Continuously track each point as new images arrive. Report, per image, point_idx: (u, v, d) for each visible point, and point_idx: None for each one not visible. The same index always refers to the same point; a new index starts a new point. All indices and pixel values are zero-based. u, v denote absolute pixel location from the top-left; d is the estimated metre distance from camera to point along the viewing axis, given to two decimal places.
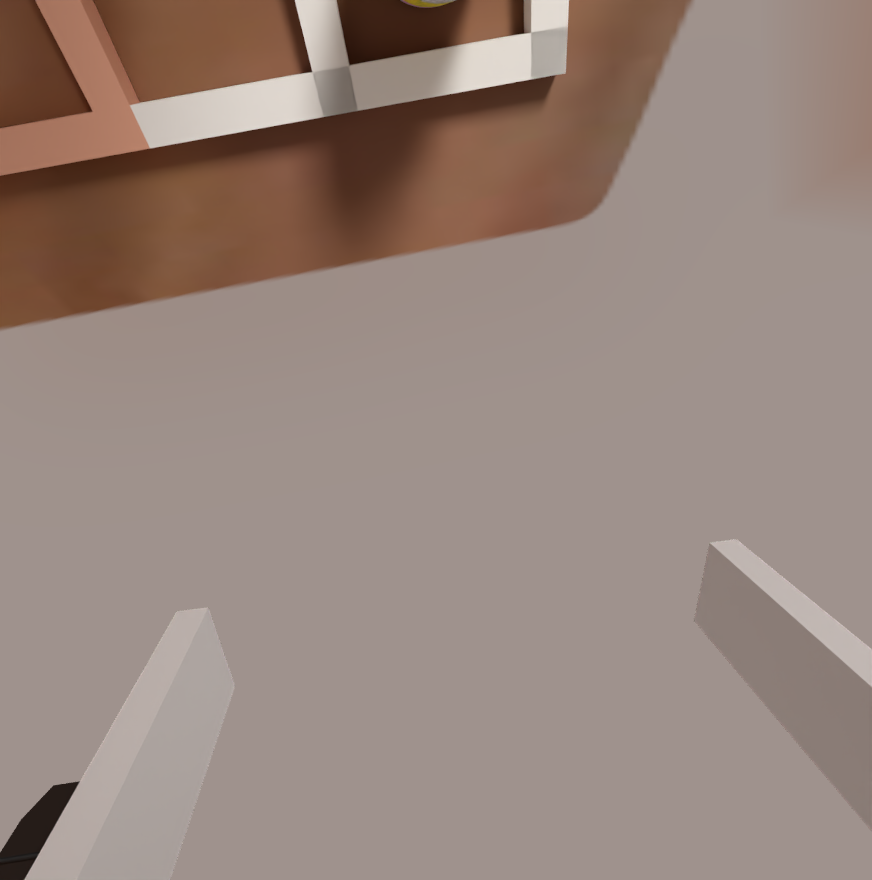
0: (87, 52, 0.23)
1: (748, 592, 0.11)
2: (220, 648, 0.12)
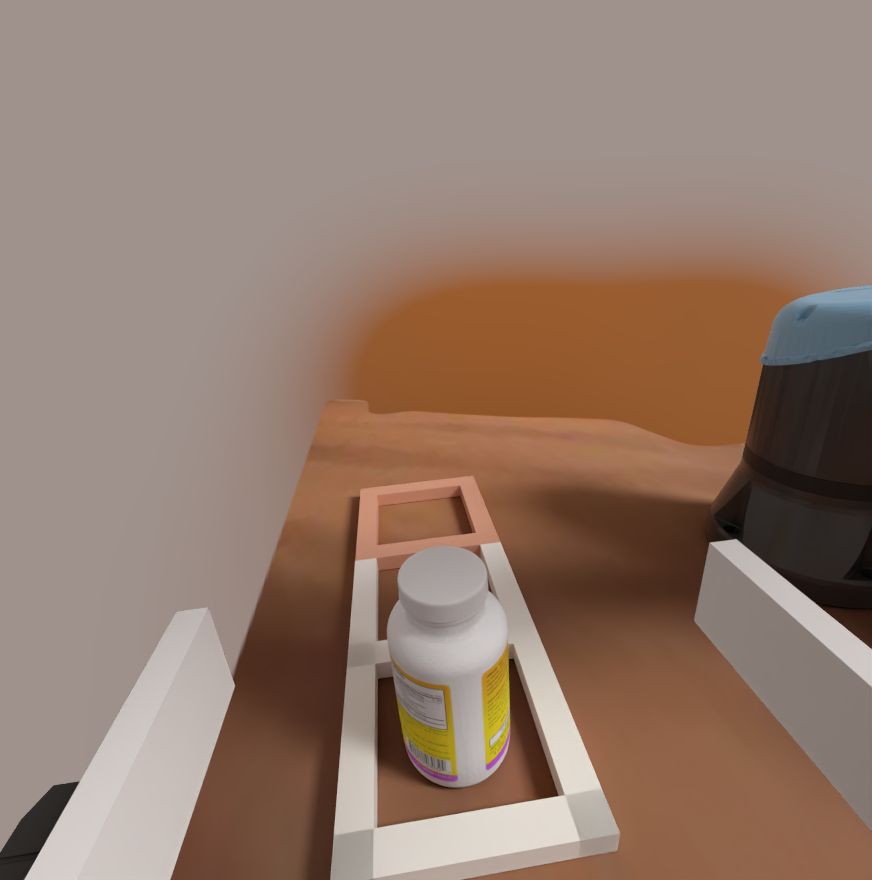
0: (400, 549, 0.44)
1: (748, 592, 0.11)
2: (220, 647, 0.12)
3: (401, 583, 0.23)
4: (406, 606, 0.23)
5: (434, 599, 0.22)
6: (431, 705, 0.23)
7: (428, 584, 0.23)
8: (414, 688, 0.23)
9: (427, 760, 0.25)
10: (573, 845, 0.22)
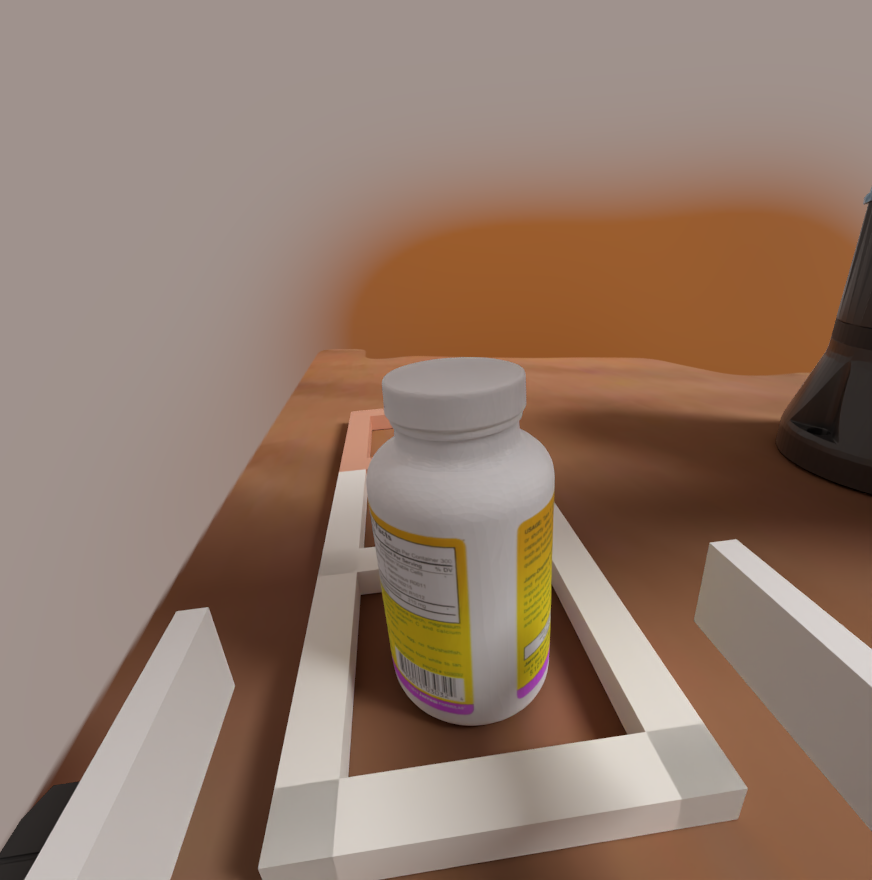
0: None
1: (748, 592, 0.11)
2: (220, 647, 0.12)
3: (387, 382, 0.14)
4: (395, 414, 0.14)
5: (440, 390, 0.13)
6: (435, 580, 0.14)
7: (431, 381, 0.14)
8: (407, 552, 0.14)
9: (428, 680, 0.16)
10: (670, 807, 0.13)
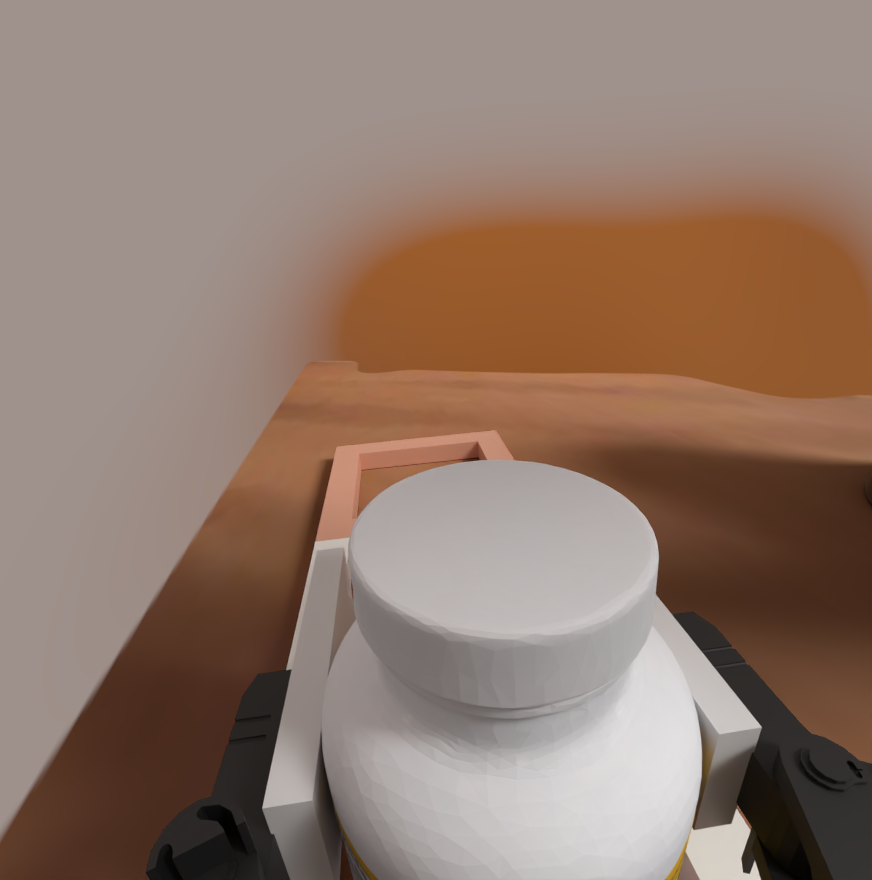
0: None
1: None
2: (348, 584, 0.13)
3: (359, 554, 0.07)
4: (373, 638, 0.06)
5: (481, 613, 0.05)
6: None
7: (453, 556, 0.06)
8: None
9: None
10: None
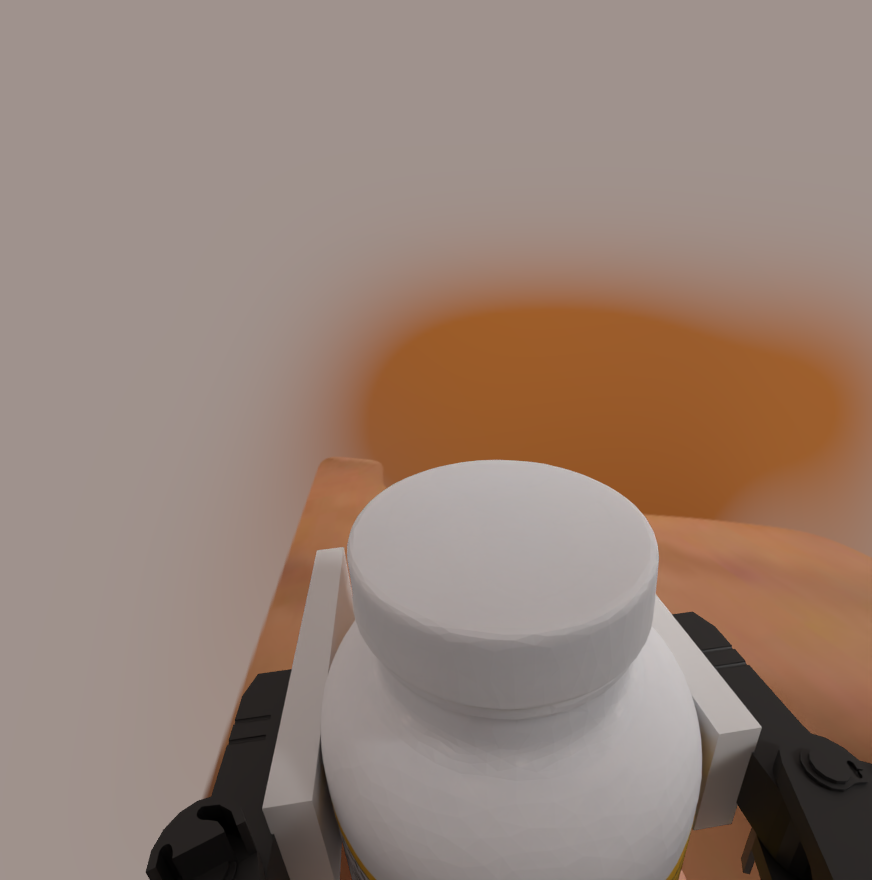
0: None
1: None
2: (348, 584, 0.13)
3: (358, 554, 0.07)
4: (372, 638, 0.06)
5: (480, 614, 0.05)
6: None
7: (453, 558, 0.06)
8: None
9: None
10: None
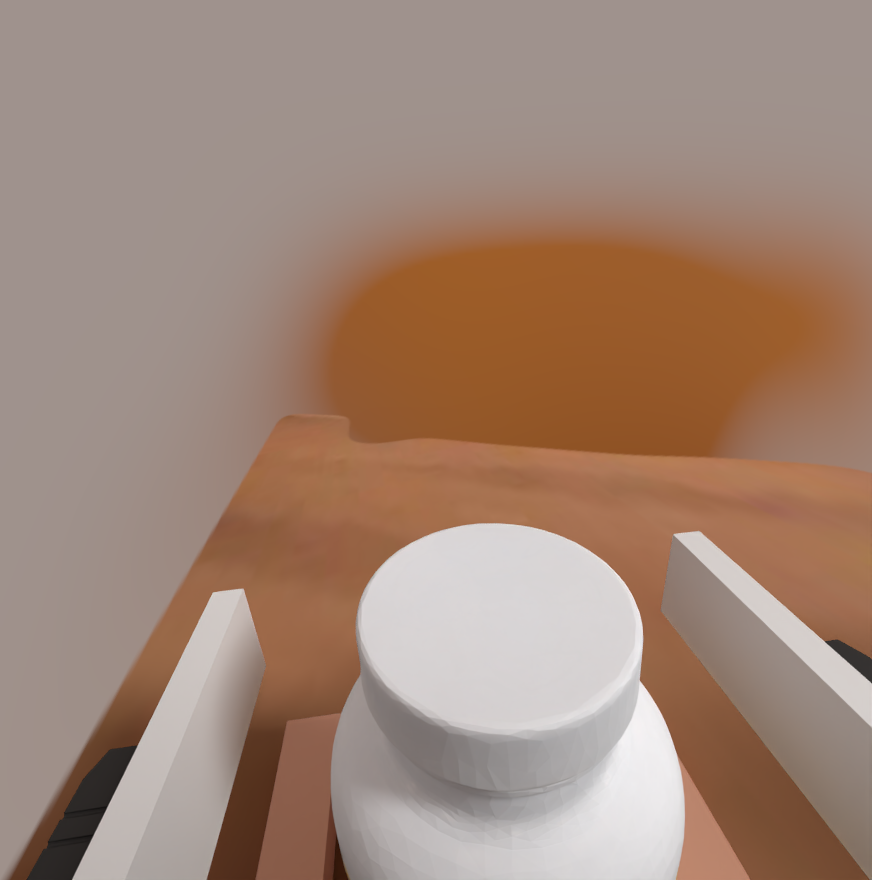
0: None
1: (706, 581, 0.11)
2: (253, 628, 0.12)
3: (366, 635, 0.07)
4: (380, 717, 0.07)
5: (478, 706, 0.06)
6: None
7: (454, 640, 0.07)
8: None
9: None
10: None
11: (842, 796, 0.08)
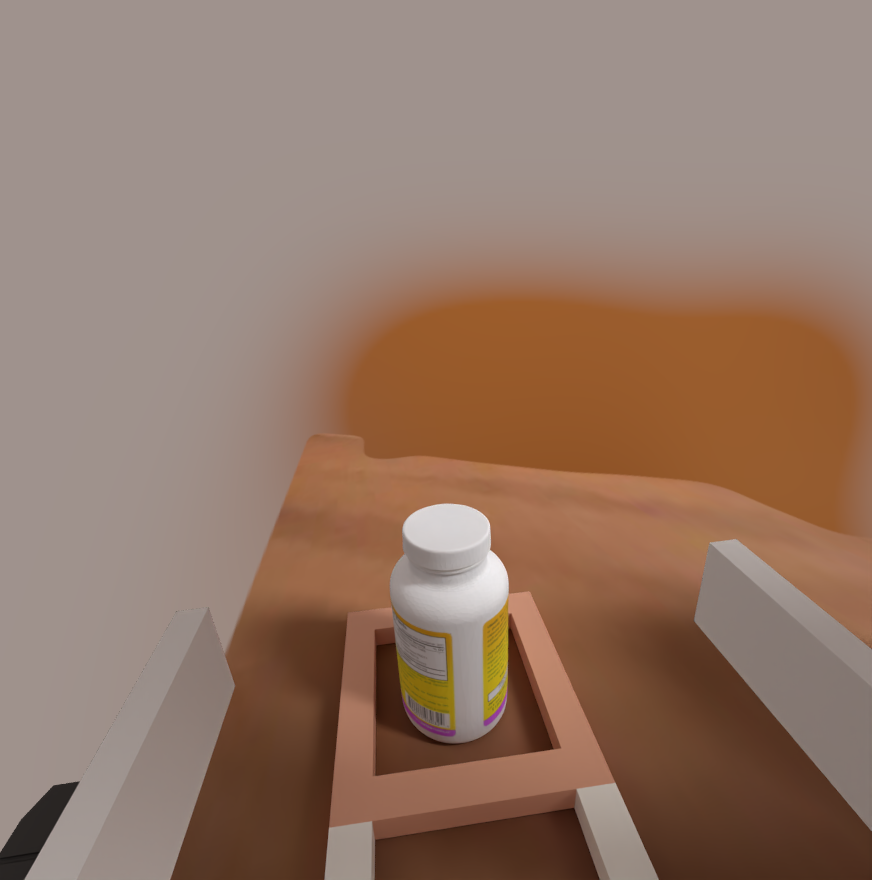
0: (419, 794, 0.22)
1: (748, 592, 0.11)
2: (220, 647, 0.12)
3: (406, 533, 0.24)
4: (410, 556, 0.23)
5: (438, 547, 0.22)
6: (432, 655, 0.23)
7: (432, 534, 0.23)
8: (416, 637, 0.23)
9: (426, 714, 0.25)
10: None
11: None
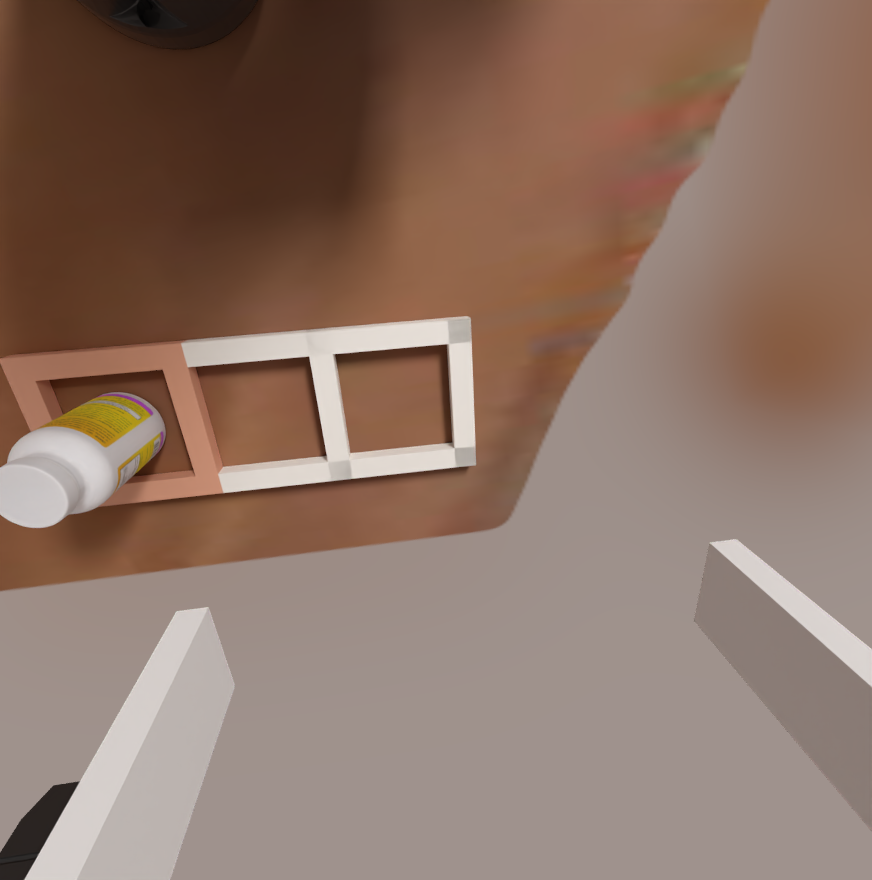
0: (202, 452, 0.41)
1: (748, 592, 0.11)
2: (220, 648, 0.12)
3: (47, 525, 0.30)
4: None
5: (62, 502, 0.29)
6: (129, 470, 0.35)
7: (44, 506, 0.29)
8: (120, 485, 0.35)
9: (154, 452, 0.40)
10: None
11: None
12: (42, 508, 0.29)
